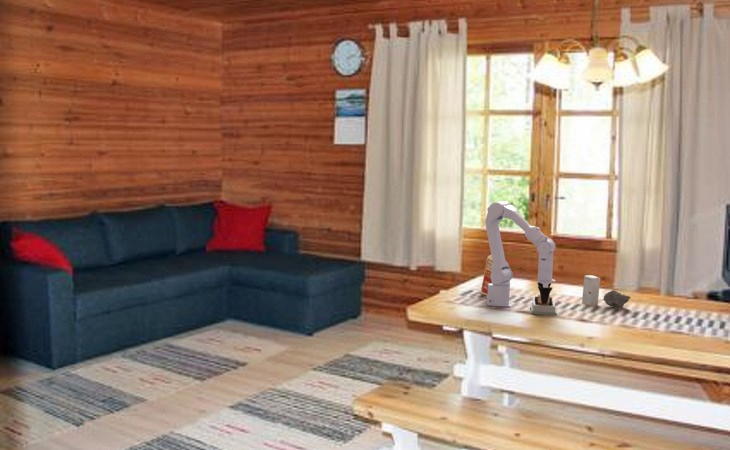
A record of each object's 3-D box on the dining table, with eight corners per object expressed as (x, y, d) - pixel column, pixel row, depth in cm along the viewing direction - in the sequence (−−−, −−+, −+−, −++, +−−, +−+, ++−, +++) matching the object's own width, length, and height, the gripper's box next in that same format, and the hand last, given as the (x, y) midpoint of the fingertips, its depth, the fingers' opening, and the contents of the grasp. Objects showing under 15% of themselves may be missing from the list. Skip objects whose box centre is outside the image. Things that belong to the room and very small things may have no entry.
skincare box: (581, 302, 307) (583, 275, 305) (590, 302, 308) (591, 274, 307) (590, 305, 301) (591, 278, 300) (599, 305, 302) (600, 277, 301)
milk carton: (480, 293, 323) (481, 250, 320) (497, 291, 327) (498, 249, 324) (491, 297, 315) (493, 253, 312) (508, 295, 318) (510, 252, 316)
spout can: (538, 310, 288) (538, 294, 287) (536, 307, 292) (537, 292, 292) (550, 310, 287) (550, 295, 286) (548, 307, 292) (549, 292, 291)
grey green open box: (531, 313, 285) (531, 301, 285) (530, 307, 296) (531, 295, 296) (556, 315, 283) (557, 303, 283) (555, 309, 294) (555, 297, 294)
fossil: (631, 307, 299) (633, 289, 298) (628, 312, 291) (629, 293, 290) (604, 304, 304) (605, 286, 303) (600, 308, 297) (601, 289, 296)
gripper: (556, 272, 280) (554, 306, 281) (554, 266, 294) (552, 298, 296) (538, 271, 281) (536, 305, 283) (537, 265, 295) (535, 297, 297)
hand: (543, 301), depth 289 cm, fingers open, 7 cm apart
